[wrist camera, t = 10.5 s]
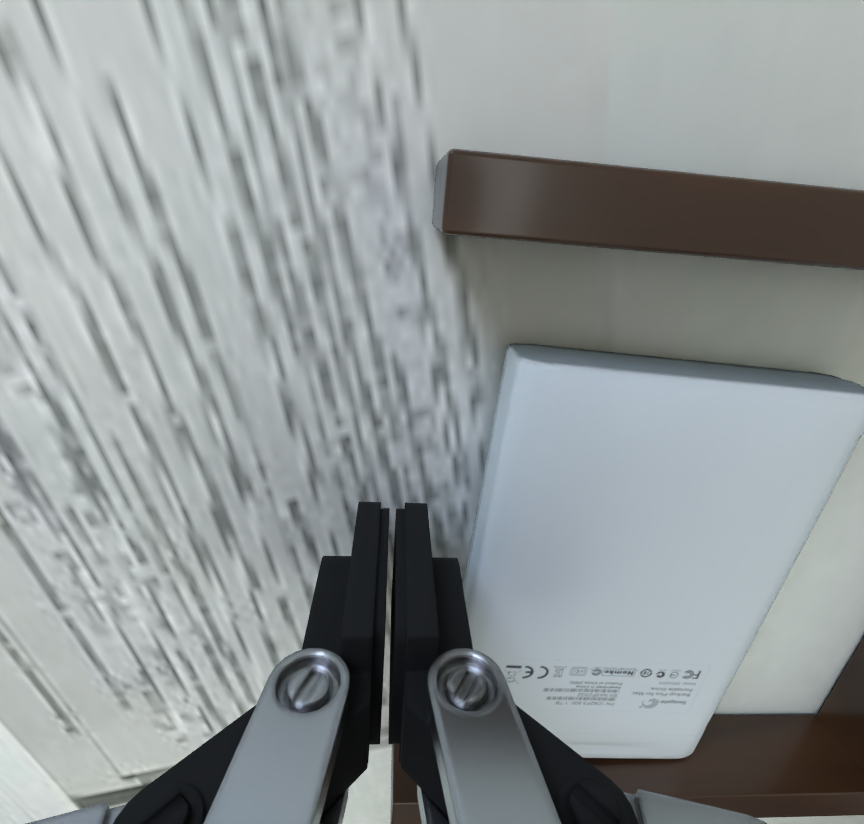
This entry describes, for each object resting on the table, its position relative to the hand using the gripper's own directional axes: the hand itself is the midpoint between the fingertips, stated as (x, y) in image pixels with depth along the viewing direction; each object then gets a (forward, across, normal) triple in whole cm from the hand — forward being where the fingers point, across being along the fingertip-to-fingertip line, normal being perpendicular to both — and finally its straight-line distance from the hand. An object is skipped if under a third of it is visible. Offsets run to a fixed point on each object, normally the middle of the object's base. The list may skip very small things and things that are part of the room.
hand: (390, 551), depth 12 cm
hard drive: (+1, -6, +1) cm, 6 cm away
